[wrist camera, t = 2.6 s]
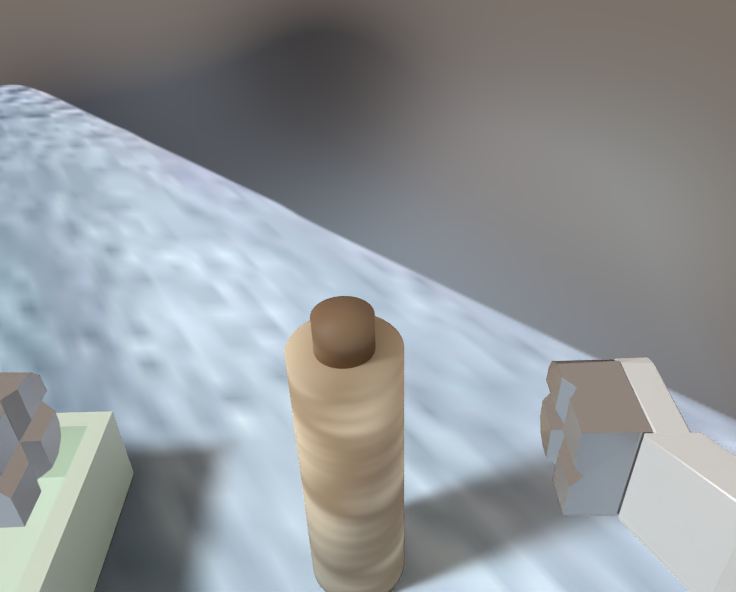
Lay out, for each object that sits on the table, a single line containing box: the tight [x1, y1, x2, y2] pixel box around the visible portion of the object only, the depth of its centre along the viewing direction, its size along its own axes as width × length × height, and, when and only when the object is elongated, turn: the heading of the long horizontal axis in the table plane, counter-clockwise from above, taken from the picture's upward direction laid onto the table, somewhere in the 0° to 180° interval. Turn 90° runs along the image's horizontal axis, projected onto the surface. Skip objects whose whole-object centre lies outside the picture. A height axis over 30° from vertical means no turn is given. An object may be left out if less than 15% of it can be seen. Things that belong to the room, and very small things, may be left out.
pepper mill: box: [285, 296, 404, 592], centre depth 30 cm, size 5×5×16 cm
